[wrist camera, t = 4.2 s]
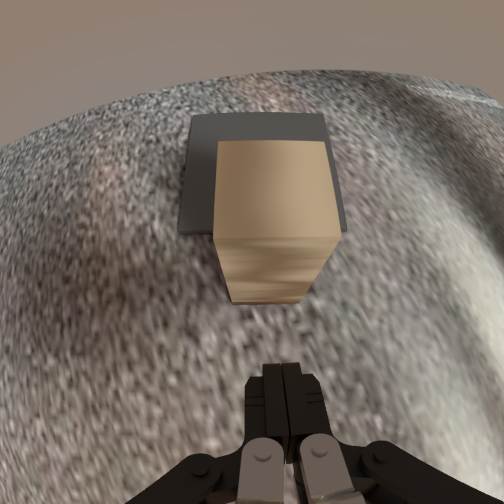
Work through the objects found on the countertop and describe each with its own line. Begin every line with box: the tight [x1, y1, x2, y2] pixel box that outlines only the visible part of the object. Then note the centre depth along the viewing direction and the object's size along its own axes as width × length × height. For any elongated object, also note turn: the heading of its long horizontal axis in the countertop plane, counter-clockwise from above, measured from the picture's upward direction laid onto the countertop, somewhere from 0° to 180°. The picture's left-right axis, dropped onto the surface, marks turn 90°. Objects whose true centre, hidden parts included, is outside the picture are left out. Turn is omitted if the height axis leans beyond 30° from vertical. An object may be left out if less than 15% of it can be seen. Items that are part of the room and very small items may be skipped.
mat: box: [178, 112, 347, 234], centre depth 27 cm, size 14×14×1 cm
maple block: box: [213, 140, 342, 305], centre depth 18 cm, size 5×5×12 cm
